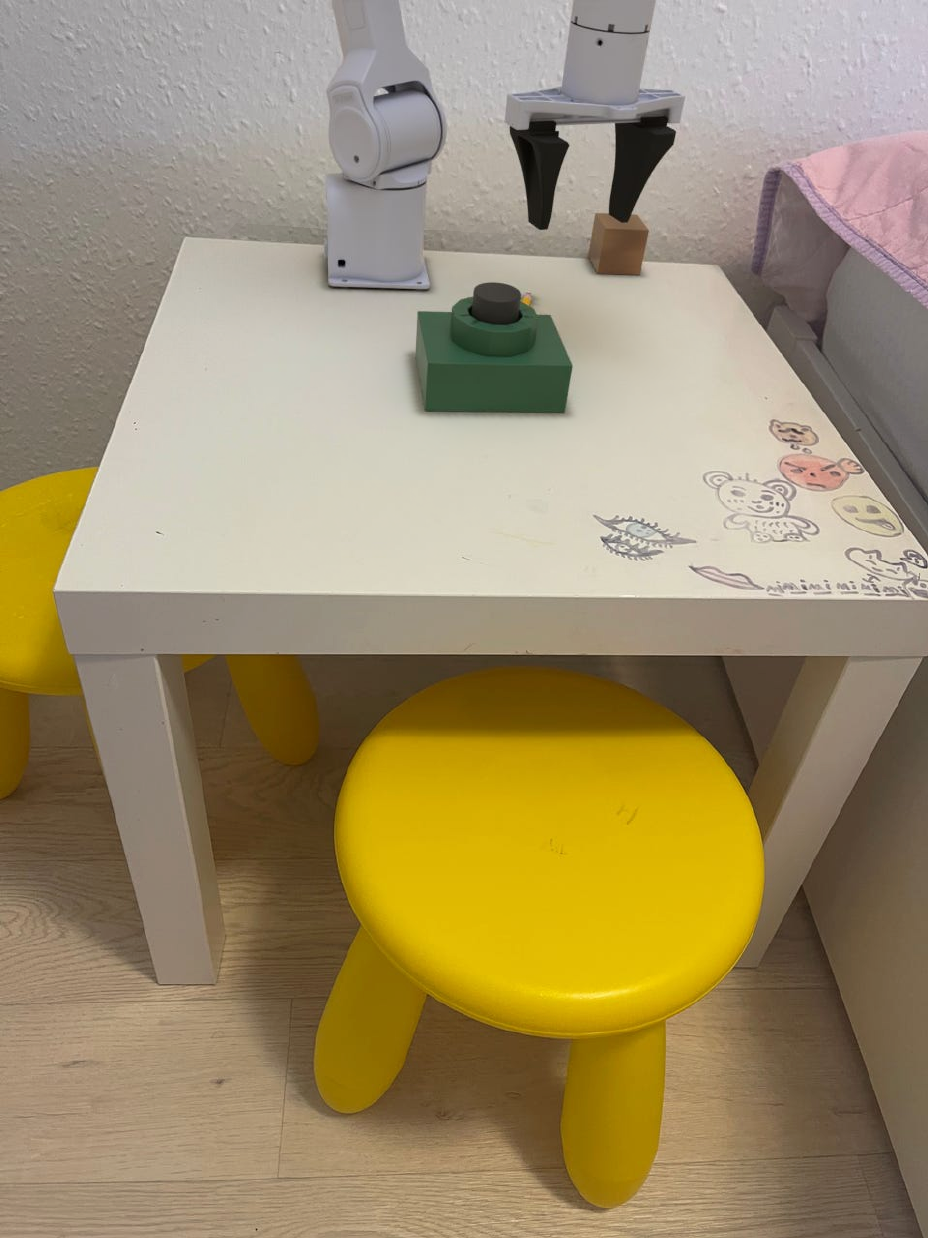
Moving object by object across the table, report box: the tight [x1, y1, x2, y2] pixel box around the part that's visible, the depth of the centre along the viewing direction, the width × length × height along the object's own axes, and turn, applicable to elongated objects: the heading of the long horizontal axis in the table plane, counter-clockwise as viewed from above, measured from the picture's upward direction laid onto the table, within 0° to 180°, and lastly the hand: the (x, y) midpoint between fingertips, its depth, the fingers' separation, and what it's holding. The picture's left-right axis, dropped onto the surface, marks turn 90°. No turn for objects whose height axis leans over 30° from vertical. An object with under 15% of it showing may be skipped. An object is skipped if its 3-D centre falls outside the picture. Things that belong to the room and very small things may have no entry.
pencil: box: [521, 292, 533, 306], centre depth 85 cm, size 1×8×1 cm, turn 168°
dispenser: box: [414, 296, 573, 414], centre depth 72 cm, size 11×9×6 cm
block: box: [587, 212, 650, 276], centre depth 94 cm, size 4×4×4 cm
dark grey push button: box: [472, 281, 522, 325], centre depth 70 cm, size 4×4×2 cm
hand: (578, 221), depth 75 cm, fingers open, 7 cm apart
